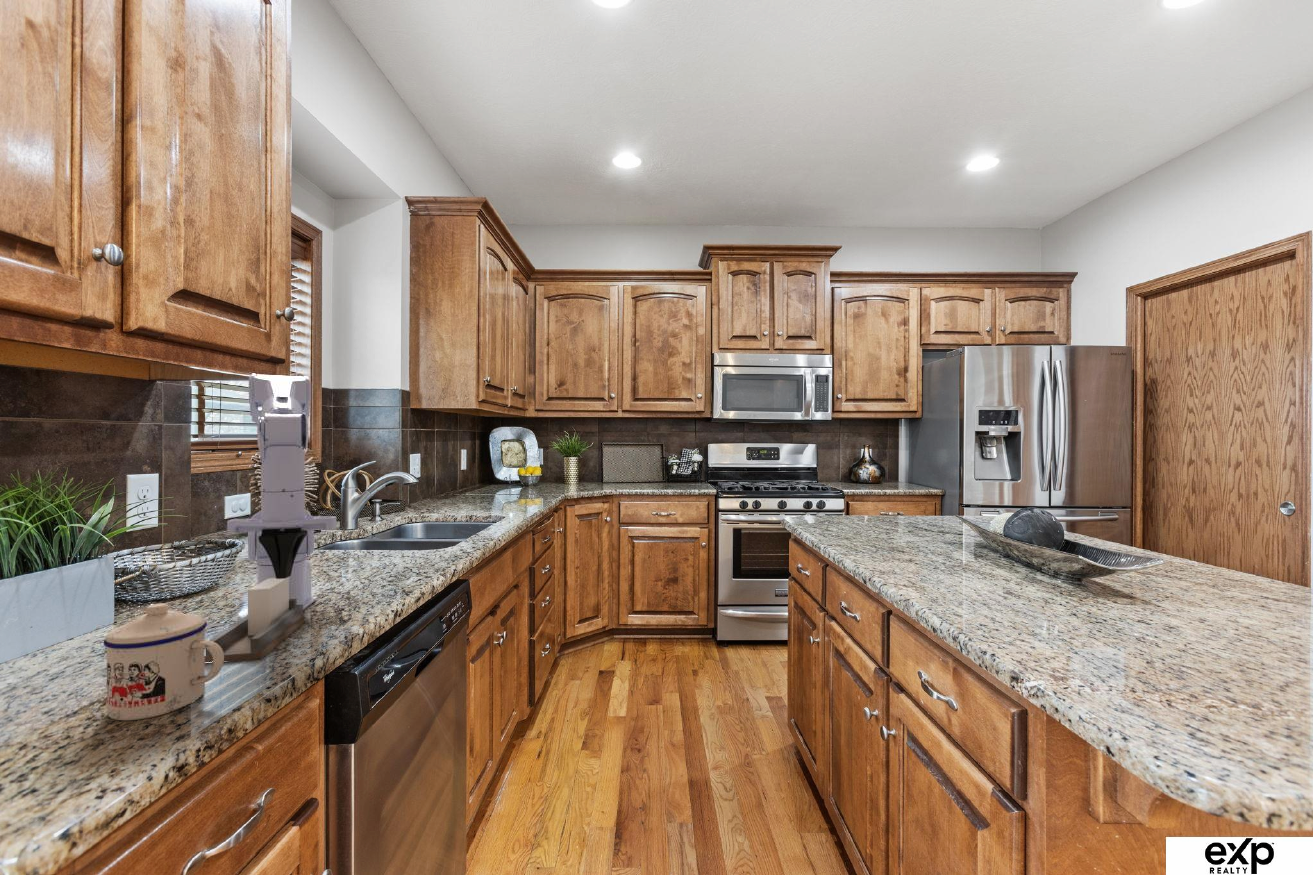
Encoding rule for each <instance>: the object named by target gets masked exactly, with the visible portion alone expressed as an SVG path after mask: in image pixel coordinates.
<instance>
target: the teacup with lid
mask: <svg viewBox="0 0 1313 875" xmlns="http://www.w3.org/2000/svg"><path fill="white" fill-rule="evenodd" d="M207 626H208V624H207V621H206V619H205V618H204V617H203V616H201V615H199V614H191V613H190V614H189V613H183V612H180V611H177V610H172V609H171V610H169V605H168V603H163V602H162V603H155V604H154V603H153V604H151V605H148V606H147V607H146V609H145V614H142V615H140V616H137V617H136V618H134V619H133V620H131V621H130V622H128V623H126V624H122V625H121V626H118V627H116V628H113V629H112V630H110V631H109V632H108V633H106V635H105V637H104V640H103V645H104V646H105V647H106V714H107V716H108V717H109V718H111V719H113V720H118V721H137V720H143V719H150V718H154V717H159V716H162V715H166V714H169V713H171V712H170V711H172V712H174V710H175V711H177V709H178V710H180V709H182V708H181V707H183V706H185V707H187V706H188V705H187V704H189V705H191V704H193V703H194V702H196V701H197V700H199V697H200V698H201V697H202V696H203V695H204V692H205V688H206V687H205V684H206V683H208V682H209V681H211V680H213V679H214V678H216V677H217V676H218V675H219V674H220V672H221V670H222V668H223V665H224V663H225V662H224V653H223V650H222V648H221V647H220V646H219V645H218V644H217V643H215V642H212V641H208V640H206V639H205V629H206V627H207ZM206 650H207V651H209V652H210V653H211V655H212V657H213V663H211V664H212V665H211V669H210V671H209V672H208V673H207V674H205V673H206V672H205V669H206V668H205V666H206V664H205V655H206ZM201 695H202V696H201ZM196 699H197V700H196ZM195 700H196V701H195ZM193 701H194V702H193ZM192 702H193V703H192ZM190 703H191V704H190ZM186 705H187V706H186ZM179 708H180V709H179ZM183 708H184V707H183ZM168 712H169V713H168ZM165 713H166V714H165Z"/></svg>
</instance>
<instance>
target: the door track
mask: <svg viewBox="0 0 1313 875" xmlns="http://www.w3.org/2000/svg"><path fill="white" fill-rule="evenodd" d="M305 622H306V616H305V615H304V610H303V604H301V605H297V599H289V611H288V612H286V613H285V614H284V615H282V616H281V617H280V618H278V619H277V620H275V621H274V622H273V623H271V624H270V625H269V626H267V627H266V628H265V629H263V630H262V631H261V632H259V633H258V634H257V635H248V614H246V615H245V616H243V617H242V618H240V619H238V620H237V621H236V622H235V623H233V624H231V625H230V626H228V627H227V628H225V629H223V630H221V631H220V632H219V633H217V634H216V635H214V636H213V637H212V638H210V639H208V640H207V641H212V642H215V643H217V644H218V645H219V646H220V647H221V648H222V650H223V653H224V661H234V662H243V661H244V662H245V661H256V660H262V659H263V658H264V657H266V656H267V654H269V653H270V652H272V651H273V650H274V649H275V648H277V646H278V645H280V644H281V643H282V642H283V641H284V640H285V639H287V638H288V637H289V636H290V635H291V634H293V633H294V632H295V631H296V630H297V629H299V628H300V627H301V626H302V625H303V624H305ZM212 661H213V657H212V655H211V653H210V652H209V651H207V650H205V662H212Z"/></svg>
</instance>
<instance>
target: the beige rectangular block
mask: <svg viewBox="0 0 1313 875" xmlns="http://www.w3.org/2000/svg"><path fill="white" fill-rule="evenodd" d="M288 611H289V577H288V578H285V579H276V578H268V579H266V580H264V581H263V582H261V583H259V584H255V585H254V586H253V587H250V588H248V589H247V615H248V635H257V634H258V633H259V632H261V631H262V630H263V629H265V628H266V627H267V626H269V625H270V624H271V623H273V622H274V621H275V620H277V619H278V618H280V617H281V616H282V615H284V614H285V613H286V612H288Z"/></svg>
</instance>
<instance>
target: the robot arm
mask: <svg viewBox="0 0 1313 875" xmlns="http://www.w3.org/2000/svg"><path fill="white" fill-rule="evenodd" d="M311 382H312V381H311V378H309V376H308V375H304V376H294V375H293V376H292V375H277V374H276V375H275V374H273V375H272V374H270V375H269V374H256V373H252V374H251V375H249V377H248V404H249V415H250V417H251V422H253V423H255V424H257V426H256V427H257V431H256V432H257V437H256V438H257V439H256V440H257V448H258V451H259V462H260V463H261V465H260V510H259V511H258V512H257V513H255V514H254V515H252V516H251V517H249V518H234V519H230V520H227V521H226V522H227V523H226V524H227V525H226V532H227V534H237V533H247V555H248V556H247V558H248V560H250V561H251V562H252V563H253V562H256V567H257V568H256V569H257V570H256V571H257V572H256V573H257V575H256V577H257V580H256V581H257V582H256V583H257V584H259V583H261V582H263V581H264V580H266V579H268V578H276V579H285V578H288V577H289V599H297V605H301V604H303V611H304V610H305V609H306V608H308V606H310V605H311V604H313V603H314V602H315V601H316V600H318V597H317V596H312V566H311V563H310V561H309V560H308V559H307V557H309V556H311V555H312V554H313V553H314V551H315V531H318V530H325V531H333V530H335V529H337V516H336V515H335V516H332V515H331V516H327V515H325V516H324V515H323V516H321V515H319V516H318V515H311V512H310V511H308V510H306V490H305V489H306V484H305V483H306V477H305V475H306V469H305V468H306V460H305V457H306V456H305V455H306V454H305V453H306V451H305V450H307V448H308V444H309V421H308V419H309V417H310V409H311V403H312V402H311V401H312V383H311ZM302 448H303V449H302ZM304 449H305V450H304ZM257 584H256V585H257Z"/></svg>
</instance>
